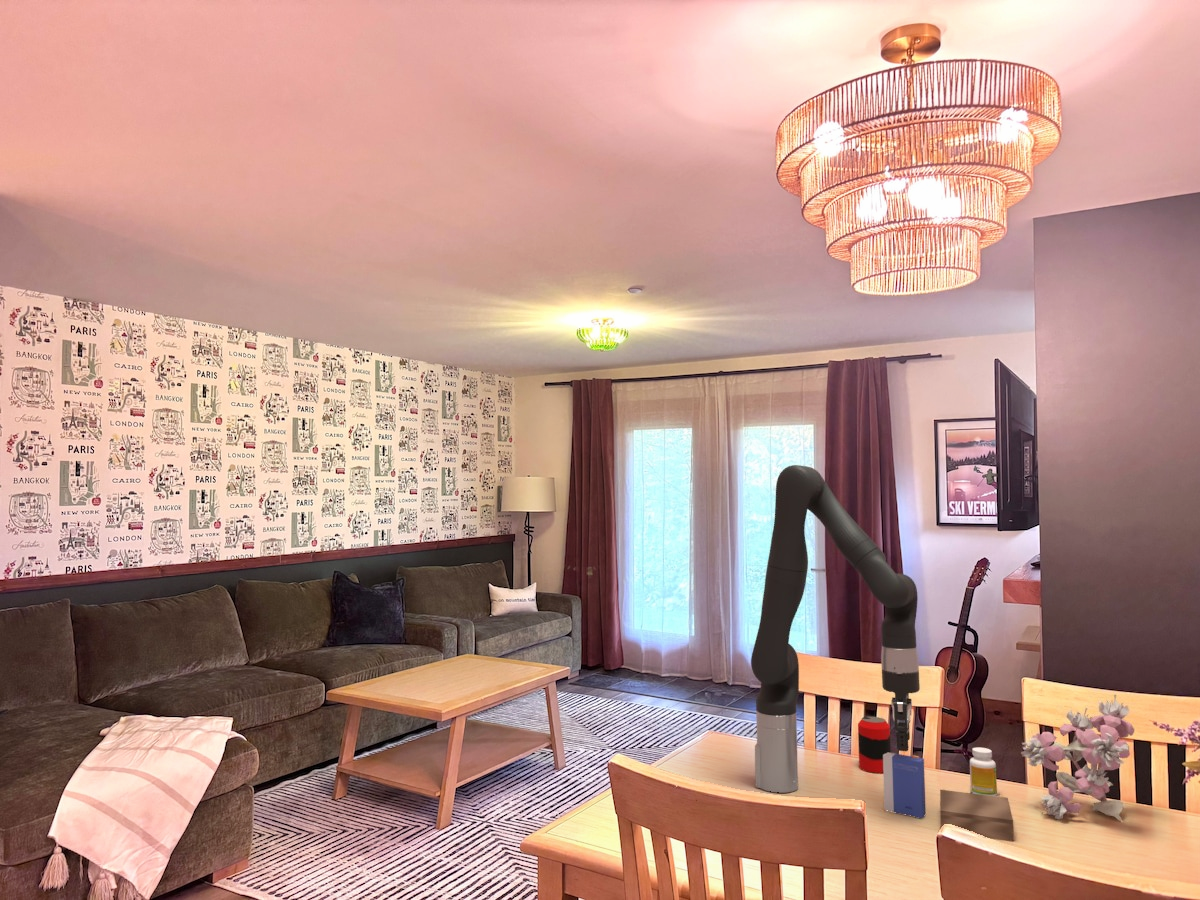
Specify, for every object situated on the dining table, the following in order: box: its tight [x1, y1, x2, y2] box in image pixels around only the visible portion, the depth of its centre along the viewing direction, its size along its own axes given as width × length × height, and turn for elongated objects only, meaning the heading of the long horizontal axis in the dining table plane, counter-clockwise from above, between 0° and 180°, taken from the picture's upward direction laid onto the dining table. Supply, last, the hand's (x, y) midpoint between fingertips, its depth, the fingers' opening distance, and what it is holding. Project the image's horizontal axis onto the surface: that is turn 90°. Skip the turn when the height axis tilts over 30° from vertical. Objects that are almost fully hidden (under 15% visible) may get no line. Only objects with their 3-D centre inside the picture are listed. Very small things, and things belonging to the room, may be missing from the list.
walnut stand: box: [939, 789, 1015, 842], centre depth 163 cm, size 13×13×4 cm
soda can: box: [857, 716, 892, 774], centre depth 198 cm, size 8×8×12 cm
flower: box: [1020, 694, 1135, 821], centre depth 169 cm, size 20×22×25 cm
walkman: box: [882, 752, 927, 819], centre depth 169 cm, size 8×3×12 cm, turn 53°
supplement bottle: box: [969, 747, 998, 796], centre depth 180 cm, size 5×5×10 cm
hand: (903, 745), depth 170 cm, fingers open, 8 cm apart
